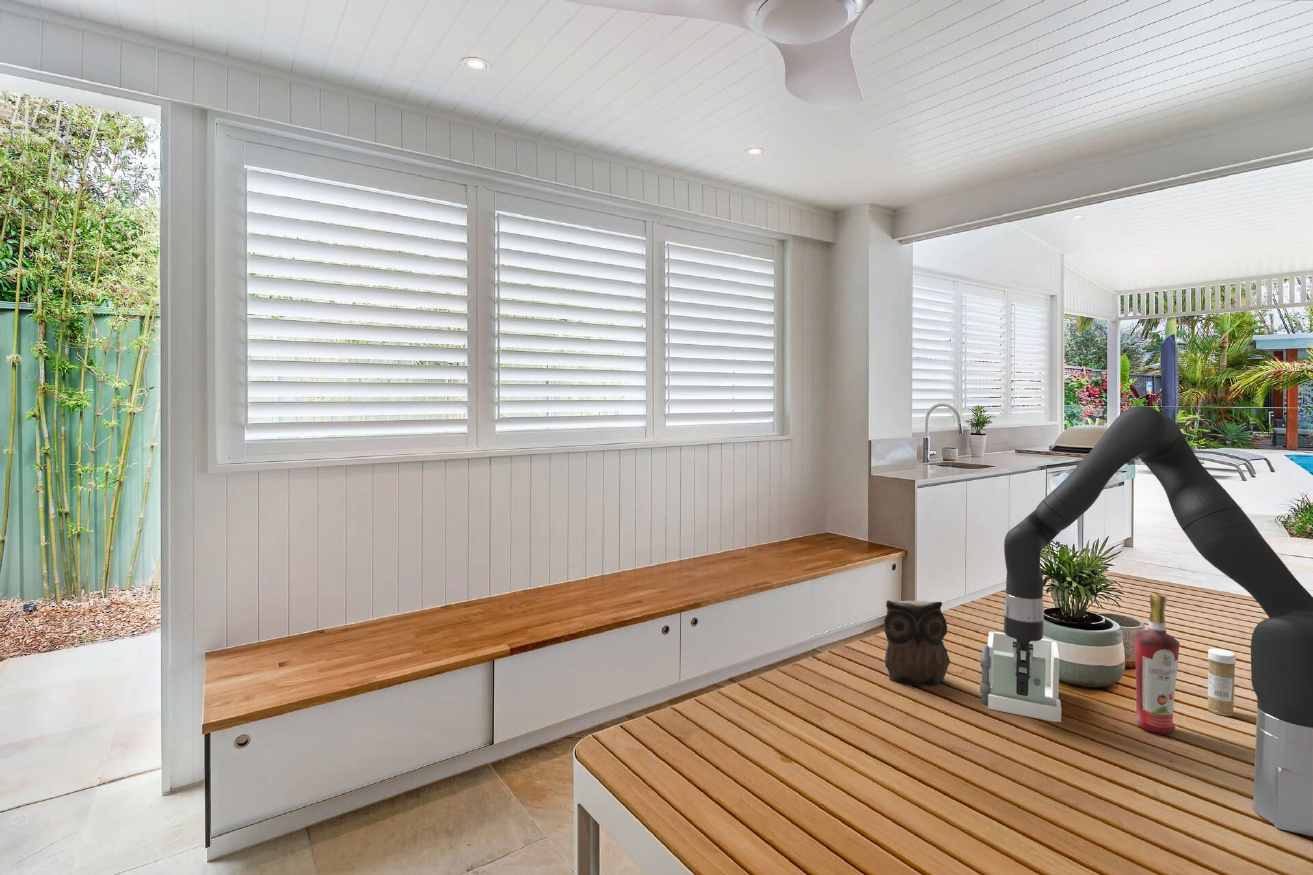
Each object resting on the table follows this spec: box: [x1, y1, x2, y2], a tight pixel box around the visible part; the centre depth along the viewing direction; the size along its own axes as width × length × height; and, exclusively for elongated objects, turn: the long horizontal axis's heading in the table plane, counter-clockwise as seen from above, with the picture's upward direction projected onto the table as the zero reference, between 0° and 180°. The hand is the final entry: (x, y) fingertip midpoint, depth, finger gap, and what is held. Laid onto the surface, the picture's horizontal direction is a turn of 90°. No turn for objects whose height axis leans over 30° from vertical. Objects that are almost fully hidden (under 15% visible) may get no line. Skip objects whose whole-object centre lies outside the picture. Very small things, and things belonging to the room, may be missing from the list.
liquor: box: [1133, 593, 1180, 735], centre depth 133 cm, size 7×7×28 cm
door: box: [992, 650, 1046, 705], centre depth 142 cm, size 4×10×12 cm, turn 61°
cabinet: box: [979, 630, 1062, 723], centre depth 148 cm, size 18×16×13 cm
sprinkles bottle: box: [1206, 648, 1237, 717], centre depth 141 cm, size 5×5×14 cm
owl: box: [883, 599, 951, 687], centre depth 158 cm, size 13×13×20 cm
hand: (1021, 687), depth 142 cm, fingers open, 8 cm apart
